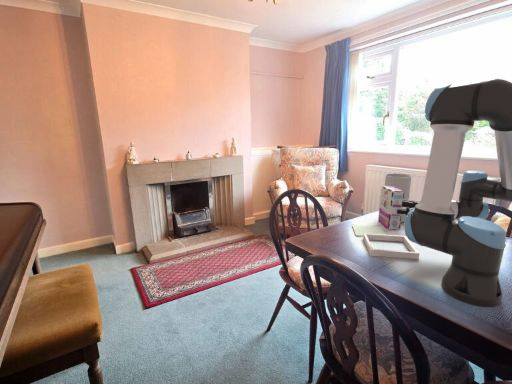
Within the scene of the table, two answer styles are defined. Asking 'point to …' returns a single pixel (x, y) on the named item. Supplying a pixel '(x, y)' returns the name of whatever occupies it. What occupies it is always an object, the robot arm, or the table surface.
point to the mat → (367, 230)
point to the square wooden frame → (390, 253)
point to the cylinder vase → (400, 185)
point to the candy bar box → (390, 199)
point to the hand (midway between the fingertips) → (383, 206)
